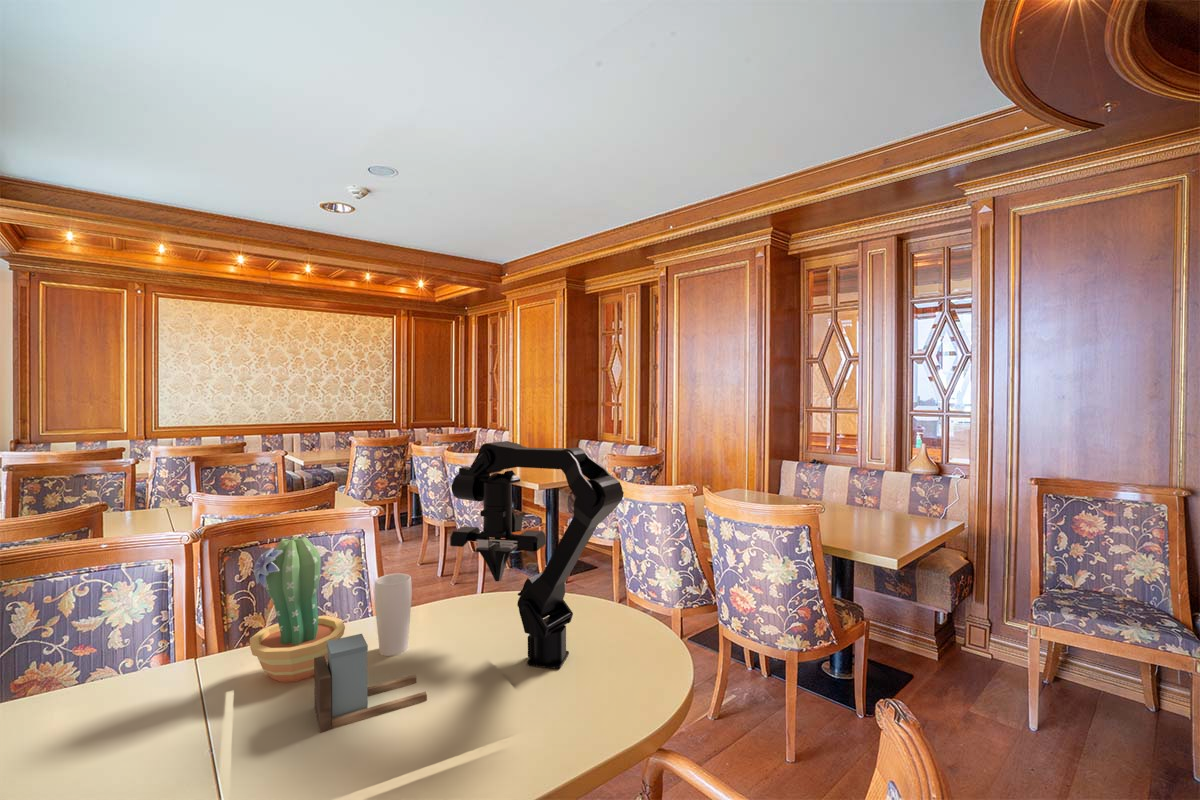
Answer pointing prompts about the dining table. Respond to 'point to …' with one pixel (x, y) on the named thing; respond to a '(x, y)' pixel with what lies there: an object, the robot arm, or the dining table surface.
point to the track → (325, 695)
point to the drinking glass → (393, 612)
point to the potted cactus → (293, 612)
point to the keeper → (348, 674)
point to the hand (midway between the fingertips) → (498, 580)
